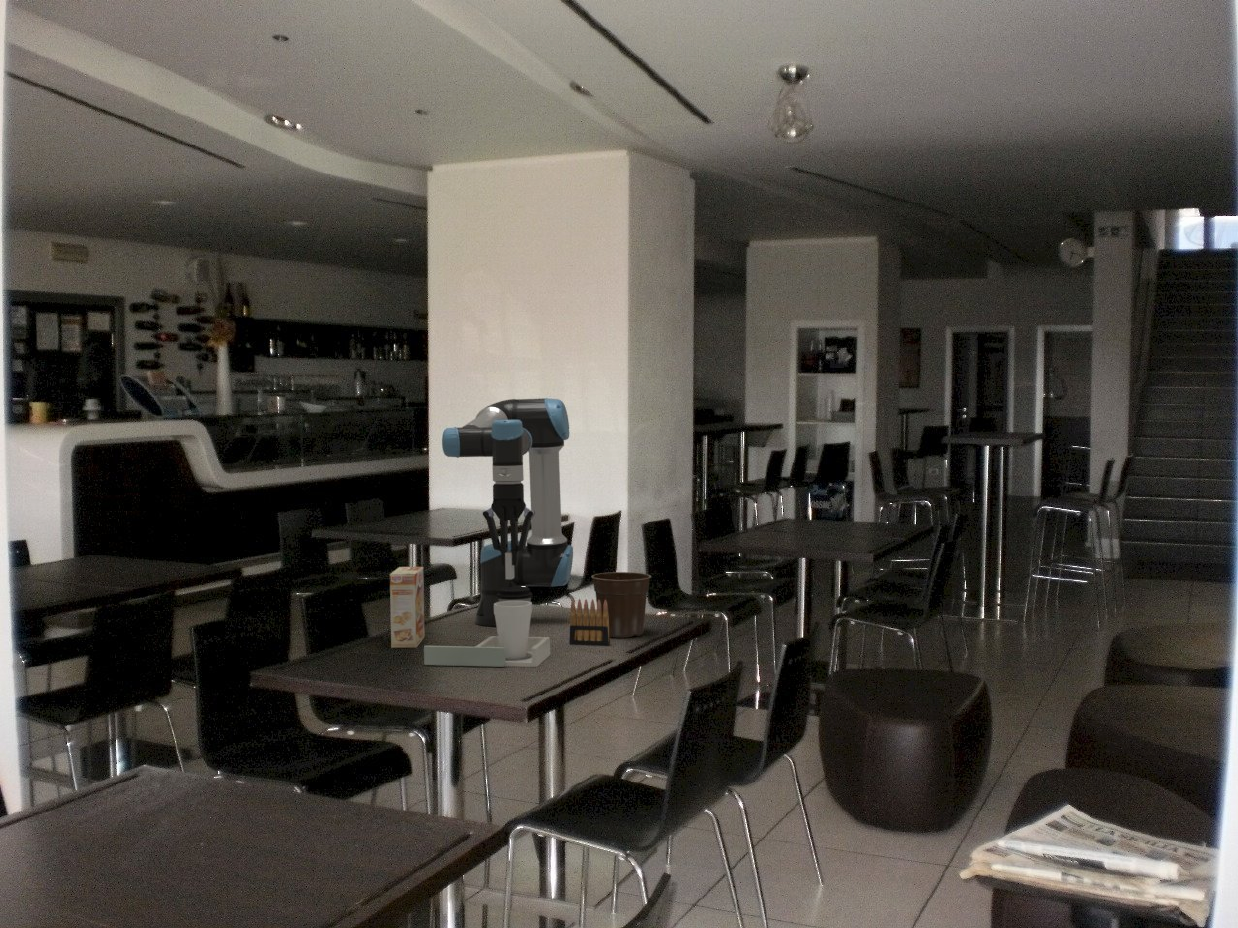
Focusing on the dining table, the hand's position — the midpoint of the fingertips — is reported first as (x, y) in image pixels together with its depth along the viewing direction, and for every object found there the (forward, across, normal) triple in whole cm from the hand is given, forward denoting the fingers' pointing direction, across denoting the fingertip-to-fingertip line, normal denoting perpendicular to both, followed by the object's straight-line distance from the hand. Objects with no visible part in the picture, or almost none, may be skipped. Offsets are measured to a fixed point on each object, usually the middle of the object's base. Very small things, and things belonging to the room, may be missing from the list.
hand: (510, 578), depth 304 cm
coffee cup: (+21, -4, +18) cm, 28 cm away
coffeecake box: (+21, -34, +20) cm, 44 cm away
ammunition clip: (+21, +15, +22) cm, 34 cm away
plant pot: (+21, +21, +37) cm, 47 cm away
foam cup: (+19, 0, 0) cm, 19 cm away
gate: (+20, -10, -7) cm, 24 cm away
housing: (+20, 0, 0) cm, 20 cm away
